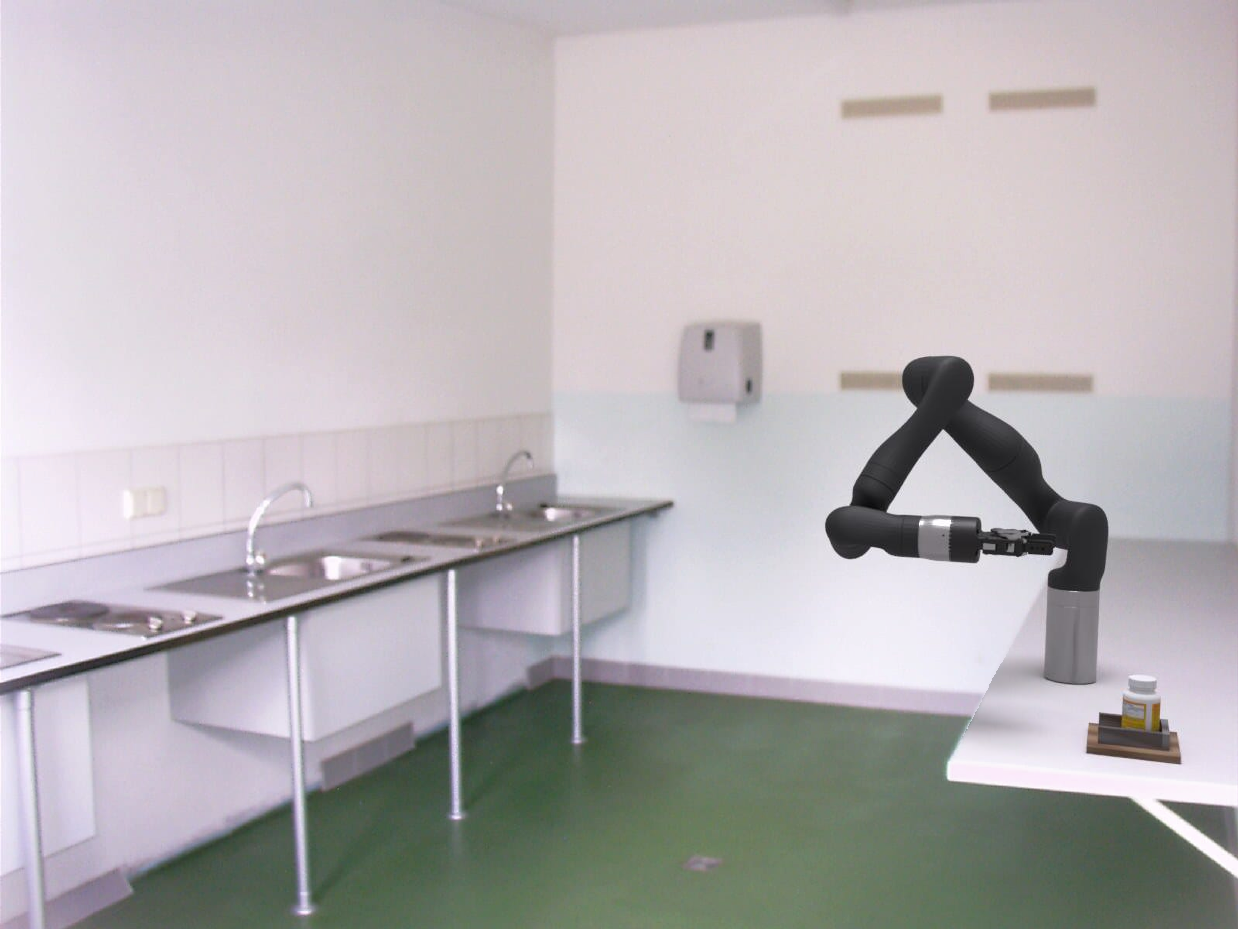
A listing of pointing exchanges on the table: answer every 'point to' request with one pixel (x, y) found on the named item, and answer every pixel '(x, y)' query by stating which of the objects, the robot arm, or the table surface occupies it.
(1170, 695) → the table surface
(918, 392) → the robot arm
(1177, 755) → the u holder
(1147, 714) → the supplement bottle
